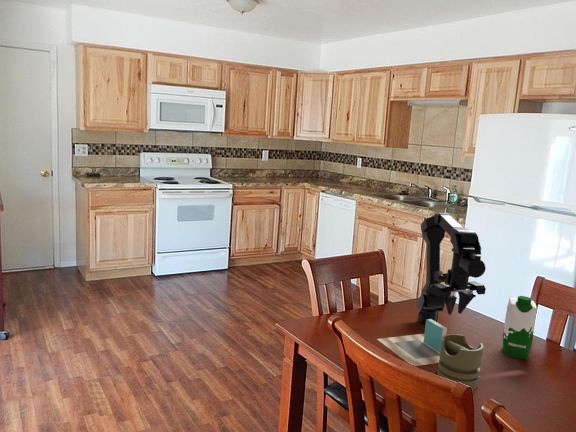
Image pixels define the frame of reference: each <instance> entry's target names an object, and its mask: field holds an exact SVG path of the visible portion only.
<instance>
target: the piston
mask: <svg viewBox="0 0 576 432" xmlns="http://www.w3.org/2000/svg"><path fill="white" fill-rule="evenodd" d="M483 352H484V344H483V343H482V342H480V343H479V346H478V347H477V348H476V347H473V346H472V345H470V344H469V343H468V341H467V340H466V335H464V334H458V333H446V335H444V336H443V337H442V341H441V349H440V359H439V363H437V364H438V365H437V372H436V373H437V376H438V375H439V376H442V377H445V378H448V379H450V380H453V381H456V382H461V383H463V384H465V385H468V386H470V387H472V389H473V390H472V391H475V390H476V389H478V384H479V379H480V372H481V366H482V360H483ZM439 376H438V377H439Z"/></svg>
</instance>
